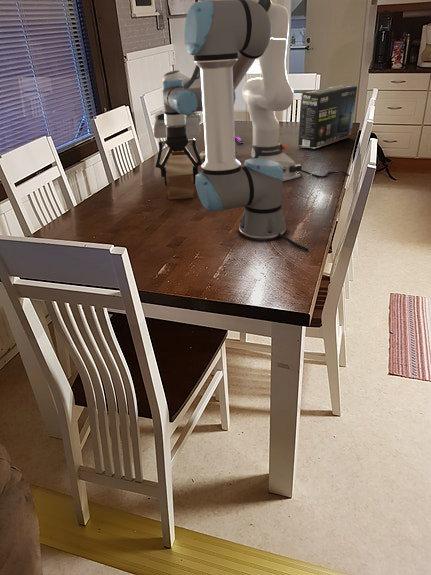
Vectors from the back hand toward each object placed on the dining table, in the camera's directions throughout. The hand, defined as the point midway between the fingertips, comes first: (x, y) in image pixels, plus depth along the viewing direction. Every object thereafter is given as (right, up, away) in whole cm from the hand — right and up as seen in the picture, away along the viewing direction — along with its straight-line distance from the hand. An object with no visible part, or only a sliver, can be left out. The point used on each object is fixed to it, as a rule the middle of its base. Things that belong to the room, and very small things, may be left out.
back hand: (178, 146), depth 199 cm
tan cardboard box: (+2, -20, -11) cm, 23 cm away
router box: (+75, +16, +46) cm, 89 cm away
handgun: (+26, +21, +58) cm, 67 cm away
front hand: (+2, -21, -20) cm, 29 cm away
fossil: (+17, +3, +28) cm, 33 cm away
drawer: (+1, -13, -2) cm, 13 cm away
